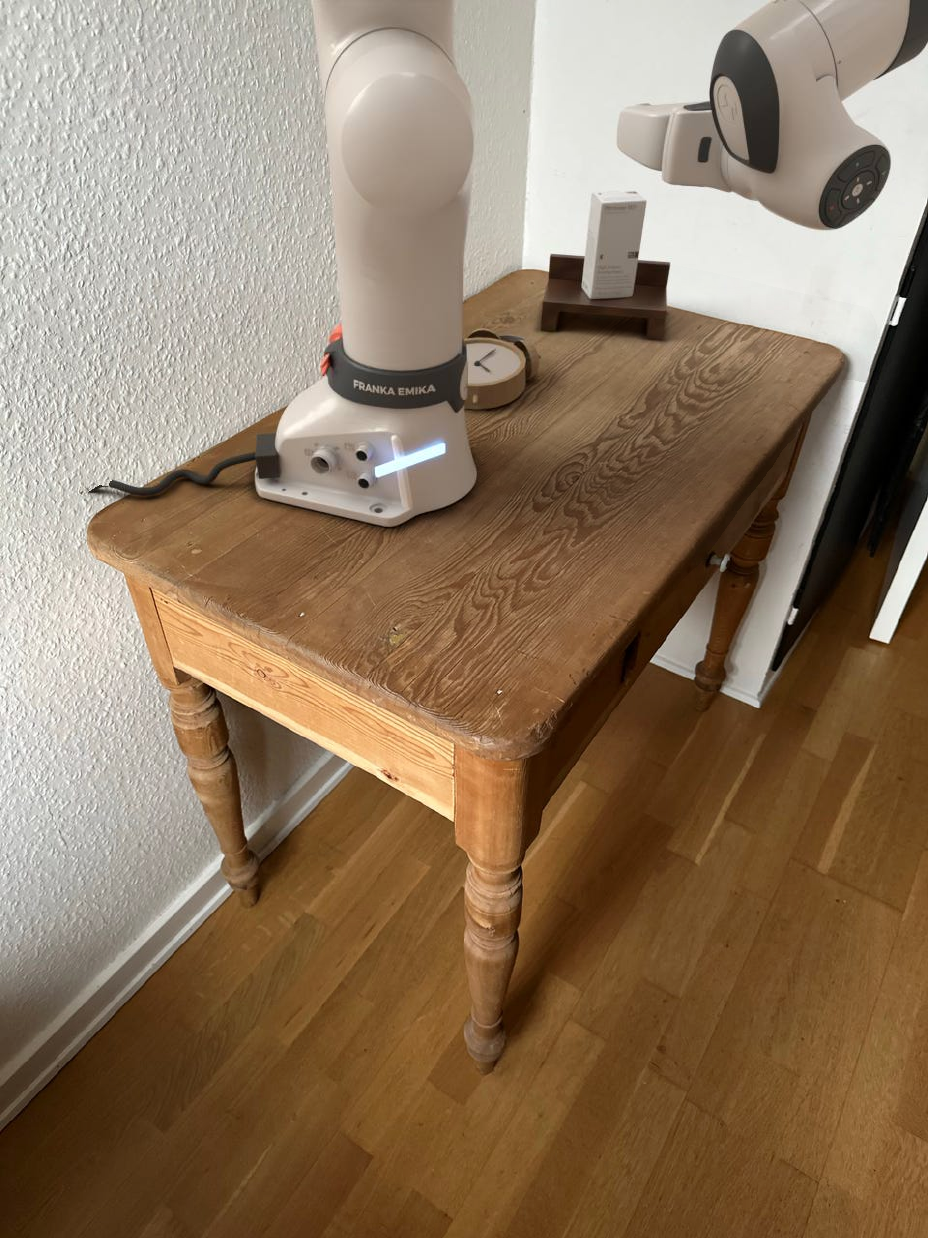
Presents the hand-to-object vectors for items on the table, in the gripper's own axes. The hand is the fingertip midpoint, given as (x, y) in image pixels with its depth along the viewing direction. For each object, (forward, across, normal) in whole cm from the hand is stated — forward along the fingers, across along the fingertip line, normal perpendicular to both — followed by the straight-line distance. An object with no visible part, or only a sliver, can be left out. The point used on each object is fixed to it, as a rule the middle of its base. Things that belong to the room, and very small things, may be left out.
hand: (678, 108), depth 96 cm
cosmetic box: (+11, 0, +24) cm, 27 cm away
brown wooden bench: (+11, 0, +28) cm, 30 cm away
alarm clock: (0, +21, +28) cm, 35 cm away
